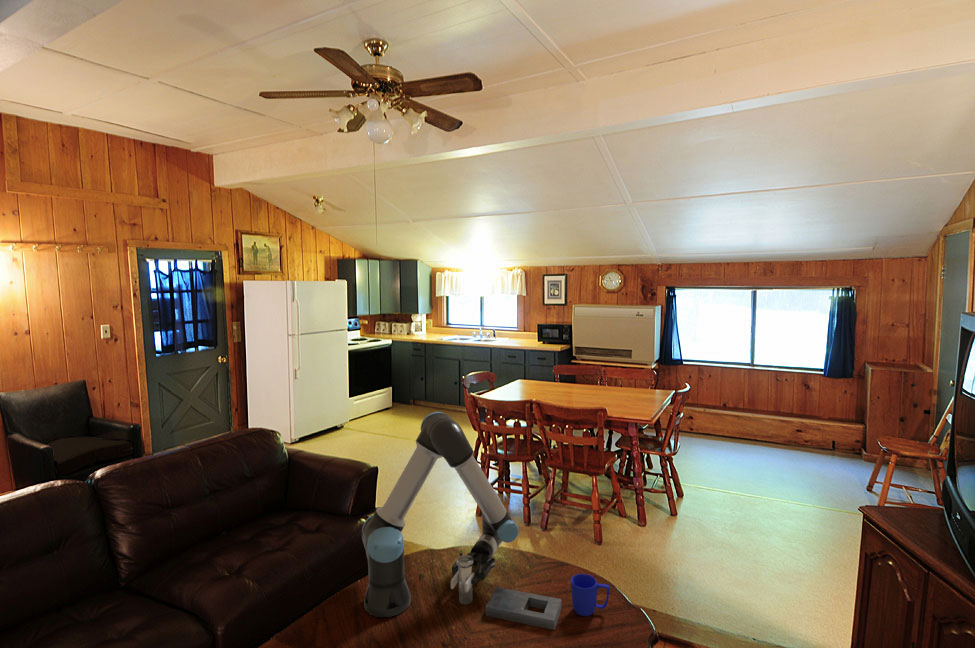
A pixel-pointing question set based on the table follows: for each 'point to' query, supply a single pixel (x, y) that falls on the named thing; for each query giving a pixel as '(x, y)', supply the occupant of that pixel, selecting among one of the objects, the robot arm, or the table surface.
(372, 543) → the robot arm
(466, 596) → the silver metal peg
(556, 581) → the table surface
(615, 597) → the table surface
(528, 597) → the jig
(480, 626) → the table surface
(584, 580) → the mug
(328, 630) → the table surface
